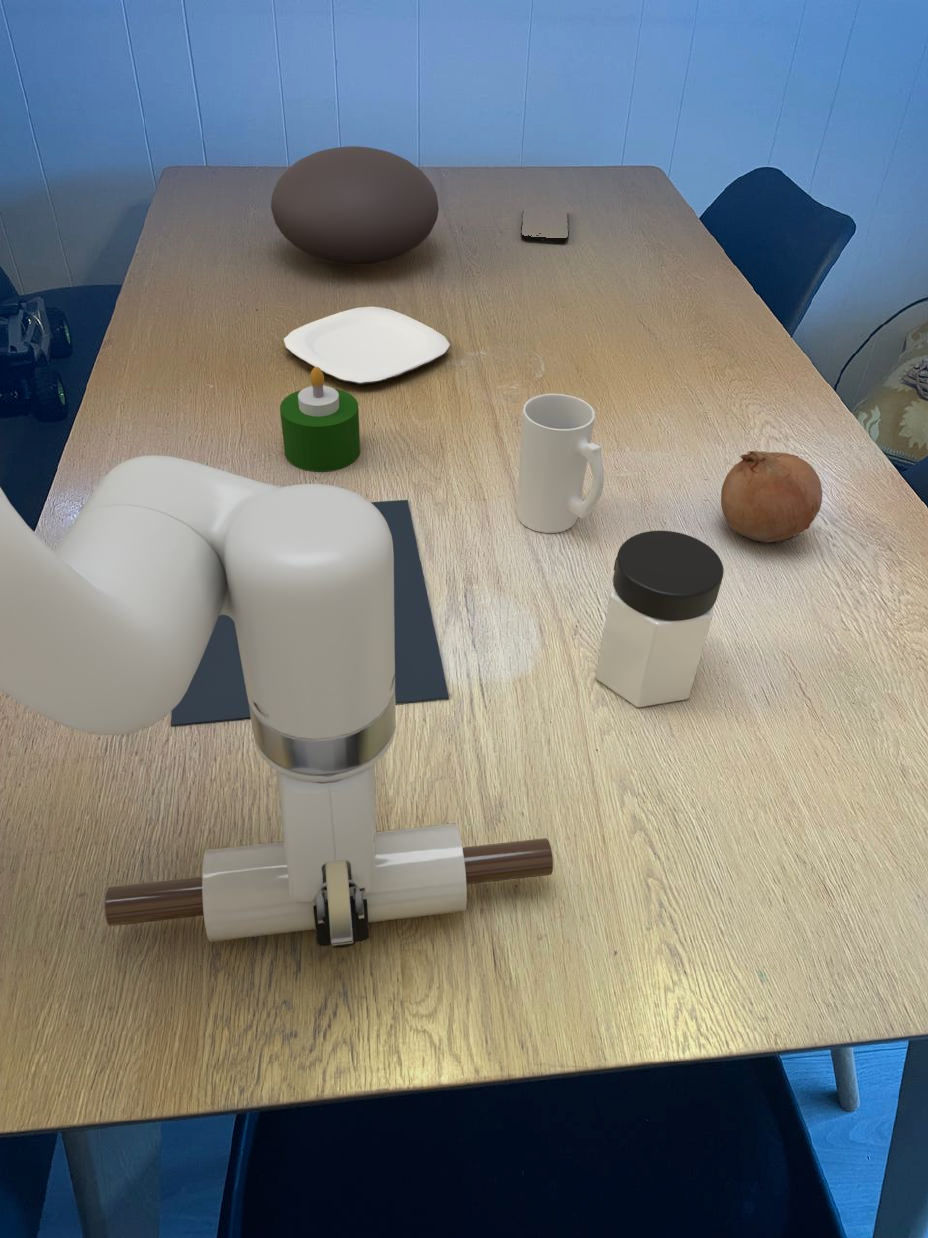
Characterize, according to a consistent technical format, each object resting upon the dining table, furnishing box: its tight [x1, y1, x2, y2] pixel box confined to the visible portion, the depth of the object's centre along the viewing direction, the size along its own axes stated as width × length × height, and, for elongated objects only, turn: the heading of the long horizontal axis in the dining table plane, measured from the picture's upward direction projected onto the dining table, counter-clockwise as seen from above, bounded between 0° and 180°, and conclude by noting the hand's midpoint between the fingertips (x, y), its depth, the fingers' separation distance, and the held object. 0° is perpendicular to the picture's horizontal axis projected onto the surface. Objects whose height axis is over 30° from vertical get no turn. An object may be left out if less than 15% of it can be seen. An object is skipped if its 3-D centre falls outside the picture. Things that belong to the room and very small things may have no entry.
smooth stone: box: [270, 145, 440, 266], centre depth 139 cm, size 25×25×15 cm
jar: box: [594, 530, 725, 708], centre depth 75 cm, size 9×8×12 cm
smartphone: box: [520, 226, 570, 244], centre depth 156 cm, size 8×1×15 cm
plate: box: [283, 306, 451, 385], centre depth 120 cm, size 18×18×2 cm
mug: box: [516, 393, 605, 534], centre depth 90 cm, size 10×7×12 cm, turn 37°
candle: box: [279, 367, 361, 473], centre depth 99 cm, size 8×8×10 cm
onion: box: [720, 450, 823, 544], centre depth 92 cm, size 10×9×10 cm
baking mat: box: [170, 499, 450, 727], centre depth 85 cm, size 28×22×1 cm
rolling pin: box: [104, 822, 554, 943], centre depth 60 cm, size 28×6×6 cm, turn 99°
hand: (340, 893), depth 61 cm, fingers closed on rolling pin, 5 cm apart
